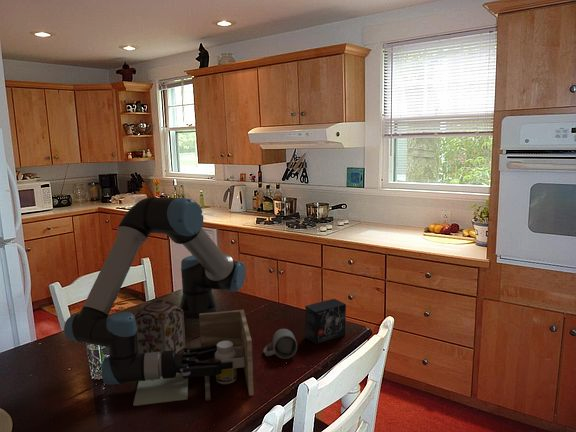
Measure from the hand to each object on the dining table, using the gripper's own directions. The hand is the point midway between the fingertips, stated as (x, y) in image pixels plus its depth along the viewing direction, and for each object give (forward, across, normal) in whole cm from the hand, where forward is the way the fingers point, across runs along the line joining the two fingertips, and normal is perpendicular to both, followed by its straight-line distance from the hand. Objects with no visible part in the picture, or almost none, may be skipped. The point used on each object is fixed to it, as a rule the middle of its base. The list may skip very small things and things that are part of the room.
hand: (243, 356), depth 133 cm
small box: (+31, -21, -7) cm, 38 cm away
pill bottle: (-5, 0, -7) cm, 8 cm away
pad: (-23, 0, -7) cm, 24 cm away
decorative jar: (-25, -22, -7) cm, 34 cm away
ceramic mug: (+13, -12, -7) cm, 19 cm away
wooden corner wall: (-5, -1, -7) cm, 8 cm away
